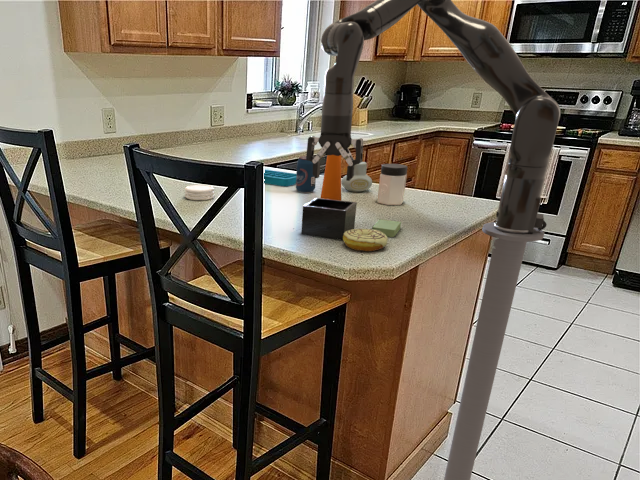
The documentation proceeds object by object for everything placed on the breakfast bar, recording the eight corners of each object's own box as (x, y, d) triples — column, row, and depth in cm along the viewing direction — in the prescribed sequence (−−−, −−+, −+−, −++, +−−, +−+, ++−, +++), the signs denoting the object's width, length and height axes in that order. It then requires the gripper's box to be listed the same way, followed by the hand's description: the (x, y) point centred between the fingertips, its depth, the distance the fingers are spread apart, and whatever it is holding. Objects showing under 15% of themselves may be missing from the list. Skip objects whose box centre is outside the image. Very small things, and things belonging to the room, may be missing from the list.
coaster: (216, 200, 176) (216, 189, 175) (187, 201, 174) (187, 191, 173) (211, 193, 185) (210, 183, 184) (183, 195, 183) (182, 184, 182)
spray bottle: (330, 197, 181) (336, 116, 171) (345, 204, 172) (352, 119, 161) (311, 198, 179) (316, 117, 169) (325, 205, 170) (331, 120, 159)
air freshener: (367, 188, 195) (370, 160, 191) (373, 192, 188) (376, 164, 184) (338, 188, 195) (341, 160, 191) (343, 192, 187) (346, 164, 183)
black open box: (354, 230, 144) (356, 202, 141) (343, 240, 136) (346, 210, 133) (314, 224, 149) (315, 197, 146) (301, 234, 140) (302, 205, 137)
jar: (371, 201, 176) (375, 165, 171) (387, 198, 180) (391, 162, 175) (392, 206, 169) (397, 169, 164) (408, 203, 173) (414, 166, 168)
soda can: (291, 191, 190) (293, 157, 185) (304, 188, 194) (306, 155, 189) (306, 194, 185) (308, 159, 180) (318, 191, 189) (321, 157, 184)
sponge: (378, 226, 148) (379, 219, 148) (400, 228, 146) (401, 221, 145) (371, 234, 141) (372, 227, 140) (393, 237, 139) (394, 230, 138)
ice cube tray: (286, 187, 195) (287, 179, 194) (244, 180, 207) (244, 172, 205) (303, 182, 204) (303, 174, 203) (261, 176, 215) (261, 168, 214)
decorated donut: (393, 251, 128) (395, 236, 126) (352, 254, 126) (354, 239, 124) (375, 238, 137) (376, 225, 135) (336, 241, 135) (337, 227, 133)
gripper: (369, 113, 130) (363, 178, 137) (314, 111, 136) (311, 174, 142) (361, 115, 124) (355, 184, 130) (304, 113, 130) (301, 179, 136)
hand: (332, 179), depth 136 cm, fingers open, 8 cm apart
